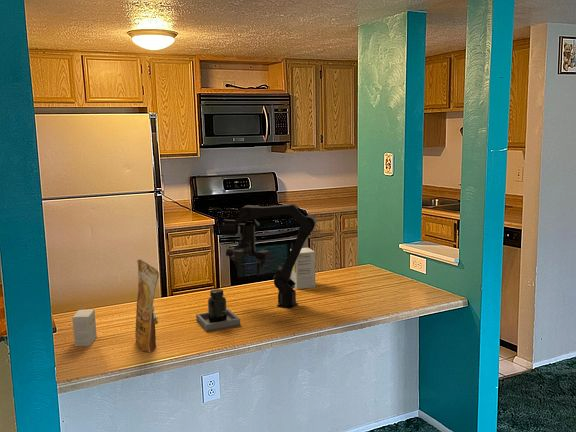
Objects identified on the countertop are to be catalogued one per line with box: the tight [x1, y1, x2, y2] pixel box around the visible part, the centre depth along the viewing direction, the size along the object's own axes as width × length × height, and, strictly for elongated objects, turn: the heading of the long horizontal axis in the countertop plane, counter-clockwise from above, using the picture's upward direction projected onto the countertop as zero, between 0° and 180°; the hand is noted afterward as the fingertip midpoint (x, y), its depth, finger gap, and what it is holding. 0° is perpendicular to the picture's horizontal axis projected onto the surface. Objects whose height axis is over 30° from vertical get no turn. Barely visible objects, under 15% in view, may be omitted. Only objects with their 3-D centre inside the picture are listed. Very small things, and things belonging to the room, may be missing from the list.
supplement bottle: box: [207, 288, 228, 323], centre depth 205 cm, size 7×7×12 cm
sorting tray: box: [195, 308, 241, 332], centre depth 205 cm, size 13×13×2 cm
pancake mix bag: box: [134, 259, 160, 353], centre depth 185 cm, size 7×19×28 cm, turn 26°
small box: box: [72, 308, 98, 347], centre depth 189 cm, size 8×6×10 cm
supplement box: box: [289, 247, 316, 290], centre depth 250 cm, size 10×9×17 cm
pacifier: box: [152, 305, 159, 322], centre depth 209 cm, size 7×6×6 cm
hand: (248, 273), depth 225 cm, fingers open, 9 cm apart
